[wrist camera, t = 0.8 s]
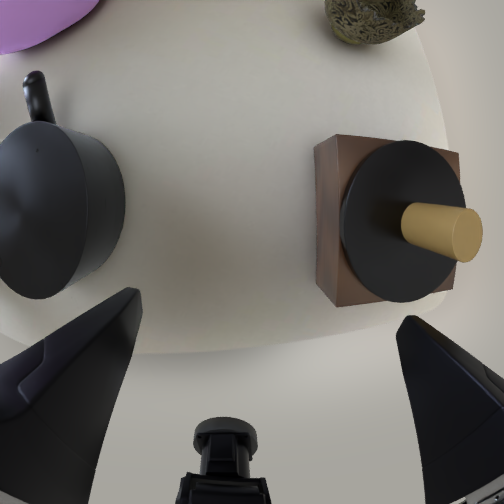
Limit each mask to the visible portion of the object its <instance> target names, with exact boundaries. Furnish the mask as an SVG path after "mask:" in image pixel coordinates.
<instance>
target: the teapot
mask: <svg viewBox="0 0 504 504" xmlns="http://www.w3.org/2000/svg"><path fill="white" fill-rule="evenodd" d="M98 2H99V0H0V55H3V54H8V53H13V52H17V51H20V50H24V49H27V48H29V47H32V46H34V45H37V44H39V43H41V42H43V41H45V40H47V39H48V38H50V37H52V36H54V35H55V34H57V33H59V32H60V31H62V30H64V29H65V28H67V27H69V26H70V25H72V24H74V23H75V22H77V21H78V20H80V19H81V18H82V17H84V16H85V15H86V14H87V13H89V12H90V11H91V10H92V9H93V8H94V7H95V5H96V4H97V3H98Z"/></svg>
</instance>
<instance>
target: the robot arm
mask: <svg viewBox="0 0 504 504" xmlns="http://www.w3.org/2000/svg"><path fill="white" fill-rule="evenodd" d="M142 313H143V309H142V301H141V293H140V290H139V289H136V288H130V287H127V288H125V289H123V290H121V291H120V292H118V293H116V294H115V295H113V296H111V297H110V298H108V299H106V300H105V301H103V302H101V303H100V304H98V305H96V306H95V307H93V308H92V309H90V310H88V311H87V312H85V313H83V314H82V315H80V316H79V317H77V318H75V319H74V320H72V321H70V322H69V323H67V324H66V325H64V326H63V327H61V328H59V329H58V330H56V331H55V332H53V333H51V334H50V335H48V336H47V337H45V339H42V340H40V341H39V342H37V343H36V344H34V345H33V346H31V347H30V348H28V349H26V350H25V351H23V352H21V353H20V354H18V355H16V356H14V357H13V358H11V359H9V360H7V361H5V362H3V363H2V364H0V504H88V501H89V497H90V492H91V488H92V483H93V479H94V475H95V471H96V470H95V469H96V466H97V463H98V459H99V455H100V451H101V448H102V444H103V441H104V437H105V433H106V430H107V427H108V424H109V421H110V418H111V414H112V411H113V408H114V405H115V402H116V399H117V396H118V393H119V390H120V387H121V385H122V382H123V379H124V376H125V374H126V371H127V368H128V365H129V363H130V360H131V357H132V353H133V349H134V345H135V341H136V337H137V333H138V330H139V326H140V322H141V319H142ZM396 341H397V346H398V351H399V356H400V361H401V366H402V372H403V376H404V380H405V384H406V388H407V392H408V396H409V400H410V404H411V409H412V413H413V418H414V423H415V428H416V433H417V438H418V444H419V450H420V456H421V463H422V471H423V480H424V490H425V503H426V504H450V503H452V502H454V501H457V500H459V499H461V498H463V497H465V498H466V500H464V501H463V502H461V503H459V504H504V379H503V378H501V377H500V376H499V375H497V374H496V373H495V372H493V371H492V370H491V369H489V368H488V367H487V366H485V365H484V364H482V363H481V362H480V361H479V360H477V359H476V358H475V357H473V356H472V355H470V354H469V353H468V352H467V351H465V350H464V349H463V348H461V347H460V346H459V345H457V344H456V343H454V342H453V341H452V340H450V339H449V338H448V337H446V336H445V335H443V334H442V333H441V332H439V331H438V330H436V329H435V328H434V327H432V326H431V325H429V324H428V323H426V322H425V321H424V320H422V319H421V318H419V317H418V316H415V315H408V316H406V317H405V319H404V320H403V322H402V324H401V326H400V327H399V329H398V331H397V333H396ZM196 439H197V443H198V446H199V449H200V452H201V455H202V457H201V466H200V474H193V473H190V472H187V474H186V476H185V477H183V478H181V482H180V488H179V492H178V495H177V498H176V502H175V504H271V499H270V495H269V491H268V487H267V483H266V480H265V478H250V470H249V461H252V448H251V437H250V433H248V432H237V433H197V434H196Z"/></svg>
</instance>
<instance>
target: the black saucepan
mask: <svg viewBox="0 0 504 504" xmlns="http://www.w3.org/2000/svg"><path fill="white" fill-rule="evenodd" d="M23 90H24V94H25V99H26V103H27V106H28V110H29V114H30V117H31V121H32V122H29V123H26V124H24V125H22V126H20V127H18V128H17V129H15V130H14V131H13V132H11V133H10V134H9V135H8V136H7V137H6V138H5V139H4V140H3V142H2V143H1V144H0V278H1V279H2V280H3V281H4V282H5V283H6V284H7V285H8V286H9V287H10V288H11V289H12V290H13V291H15V292H16V293H18V294H20V295H21V296H24V297H27V298H30V299H46V298H49V297H52V296H54V295H56V294H57V293H59V292H60V291H62V290H64V289H65V288H67V287H68V286H70V285H72V284H73V283H75V282H76V281H78V280H80V279H81V278H83V277H85V276H86V275H88V274H90V273H91V272H93V271H94V270H96V269H97V268H99V267H100V266H101V265H102V264H103V263H104V262H105V261H106V260H107V258H108V257H109V256H110V255H111V253H112V251H113V249H114V248H115V246H116V244H117V241H118V239H119V236H120V233H121V230H122V226H123V221H124V213H125V192H124V185H123V180H122V176H121V173H120V170H119V167H118V165H117V163H116V161H115V159H114V157H113V156H112V154H111V153H110V151H109V150H108V149H107V148H106V147H105V146H104V145H103V144H102V143H101V142H99V141H98V140H97V139H95V138H93V137H91V136H88V135H85V134H82V133H79V132H76V131H74V130H71V129H67V128H64V127H61V126H58V125H56V121H55V118H54V114H53V110H52V107H51V103H50V99H49V94H48V90H47V85H46V81H45V76H44V74H43V73H42V72H41V71H33V72H31V73H29V74H28V75H27V76H26V78H25V79H24V82H23Z"/></svg>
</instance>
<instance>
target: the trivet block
mask: <svg viewBox="0 0 504 504" xmlns="http://www.w3.org/2000/svg"><path fill="white" fill-rule="evenodd" d="M392 142H396V141H394V140H387V139H379V138H371V137H362V136H351V135H339V134H336V135H334V136H332V137H330V138H329V139H327V140H325V141H323V142H322V143H320V144H318V145H317V146H315V147H314V158H315V179H316V214H317V267H316V284H317V285H318V286H319V288H320V289H321V290H322V291H323V292H324V293H325V295H326V296H327V297H328V298H329V299H330V301H331V302H332V303H333V304H334V305H335V306H336V307H343V306H351V305H359V304H367V303H374V302H381V301H387V300H384V299H382V298H380V297H378V296H376V295H375V294H373V293H372V292H370V291H369V290H368V289H366V288H365V287H364V286H363V285H362V284H361V283H360V282H359V281H358V279H357V278H356V277H355V276H354V274H353V272H352V271H351V269H350V267H349V265H348V263H347V261H346V258H345V255H344V252H343V248H342V244H341V238H340V225H339V222H340V209H341V203H342V198H343V195H344V191H345V188H346V186H347V183H348V181H349V179H350V177H351V175H352V173H353V172H354V170H355V168H356V167H357V166H358V164H359V163H360V162H361V161H362V160H363V159H364V158H365V157H366V156H367V155H368V154H369V153H370V152H372V151H373V150H375V149H376V148H378V147H380V146H382V145H385V144H388V143H392ZM431 148H432V149H434V150H435V151H437V152H438V153H439V154H440V155H441V156H443V157H444V159H445V160H446V161H447V162H448V163H449V164H450V166H451V167H452V169H453V170H454V172H455V174H456V176H457V178H458V180H459V182H460V169H459V154H458V153H456V152H452V151H448V150H444V149H439V148H434V147H431ZM456 263H457V262H456ZM455 270H456V264H455V266H454V268H453V270H452V271H451V273H450V274H449V276H448V277H447V278H446V279H445V281H444V282H443V283H442V284H441V285H440V286H439V287H438V288H437V289H435V290H434V291H433V292H432V293H435V292H441V291H446V290H451V289H453V284H454V277H455Z"/></svg>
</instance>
